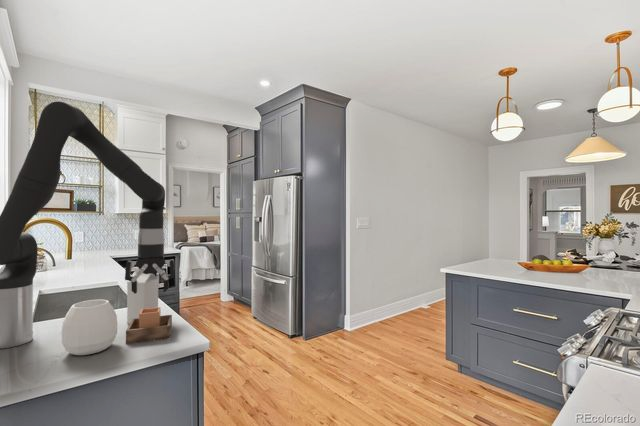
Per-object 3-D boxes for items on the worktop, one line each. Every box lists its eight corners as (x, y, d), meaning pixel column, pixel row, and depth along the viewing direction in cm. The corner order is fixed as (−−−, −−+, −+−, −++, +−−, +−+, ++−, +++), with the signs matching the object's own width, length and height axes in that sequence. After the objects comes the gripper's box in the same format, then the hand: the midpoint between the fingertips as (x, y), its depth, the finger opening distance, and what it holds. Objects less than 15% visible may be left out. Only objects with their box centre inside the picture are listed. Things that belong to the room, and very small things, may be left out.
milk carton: (144, 325, 115) (144, 271, 115) (126, 324, 116) (127, 270, 116) (158, 319, 122) (158, 267, 122) (141, 317, 123) (141, 267, 123)
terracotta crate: (139, 336, 103) (139, 313, 103) (141, 330, 108) (141, 309, 108) (158, 333, 105) (158, 312, 105) (160, 328, 110) (160, 307, 110)
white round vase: (128, 343, 99) (128, 298, 99) (88, 362, 86) (88, 311, 86) (92, 339, 102) (92, 296, 102) (48, 357, 89) (48, 308, 89)
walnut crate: (125, 344, 99) (125, 330, 99) (132, 330, 110) (132, 318, 110) (169, 338, 103) (169, 325, 103) (171, 326, 114) (171, 314, 114)
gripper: (123, 243, 100) (123, 296, 100) (174, 243, 106) (173, 293, 106) (128, 241, 107) (127, 291, 107) (175, 241, 113) (174, 288, 113)
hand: (150, 292), depth 106 cm, fingers open, 8 cm apart
